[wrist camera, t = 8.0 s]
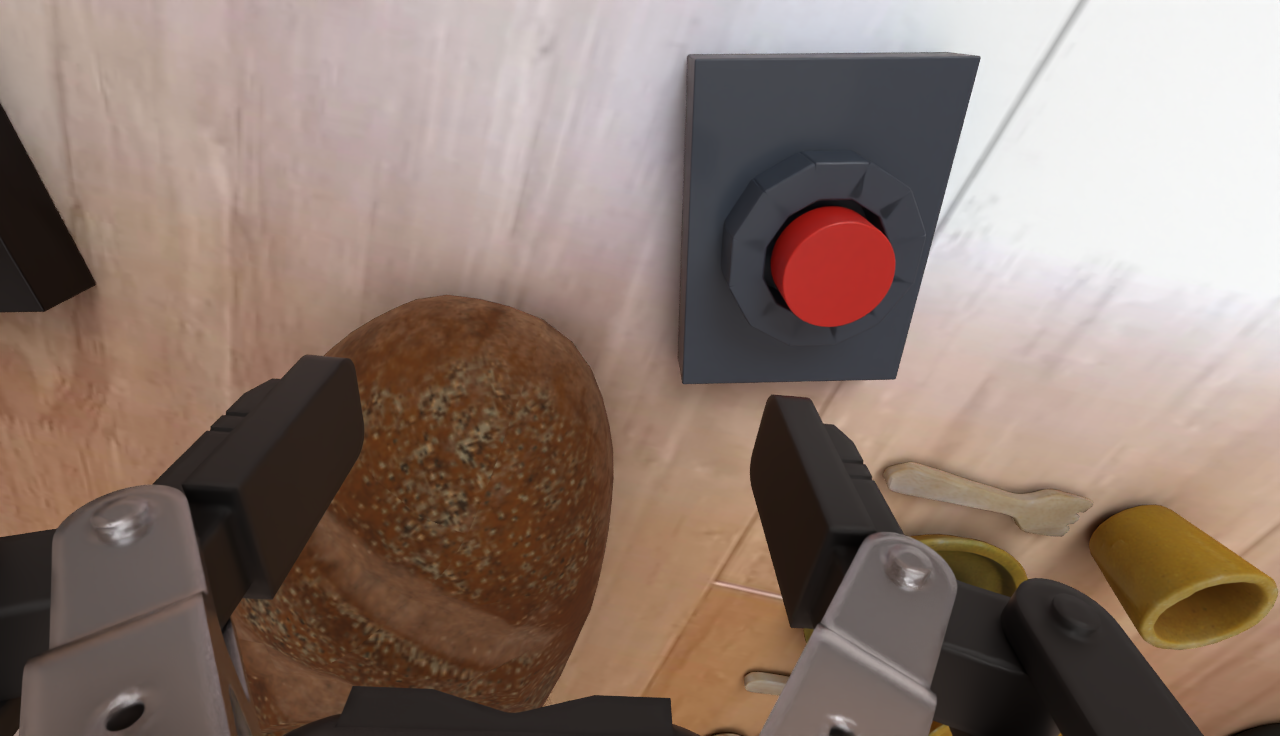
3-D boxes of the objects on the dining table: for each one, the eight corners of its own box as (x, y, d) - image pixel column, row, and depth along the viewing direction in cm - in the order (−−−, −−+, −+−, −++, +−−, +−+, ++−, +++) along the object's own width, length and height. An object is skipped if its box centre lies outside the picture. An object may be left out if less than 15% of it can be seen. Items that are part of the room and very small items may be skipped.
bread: (263, 653, 36) (134, 889, 26) (310, 220, 22) (73, 379, 13) (509, 697, 40) (474, 919, 30) (682, 344, 26) (723, 546, 16)
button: (776, 206, 19) (789, 222, 17) (885, 204, 19) (908, 220, 18) (764, 306, 21) (775, 328, 19) (864, 304, 21) (882, 326, 19)
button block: (687, 54, 20) (702, 62, 16) (947, 52, 20) (1015, 59, 17) (677, 358, 26) (686, 410, 23) (876, 353, 26) (914, 404, 23)
